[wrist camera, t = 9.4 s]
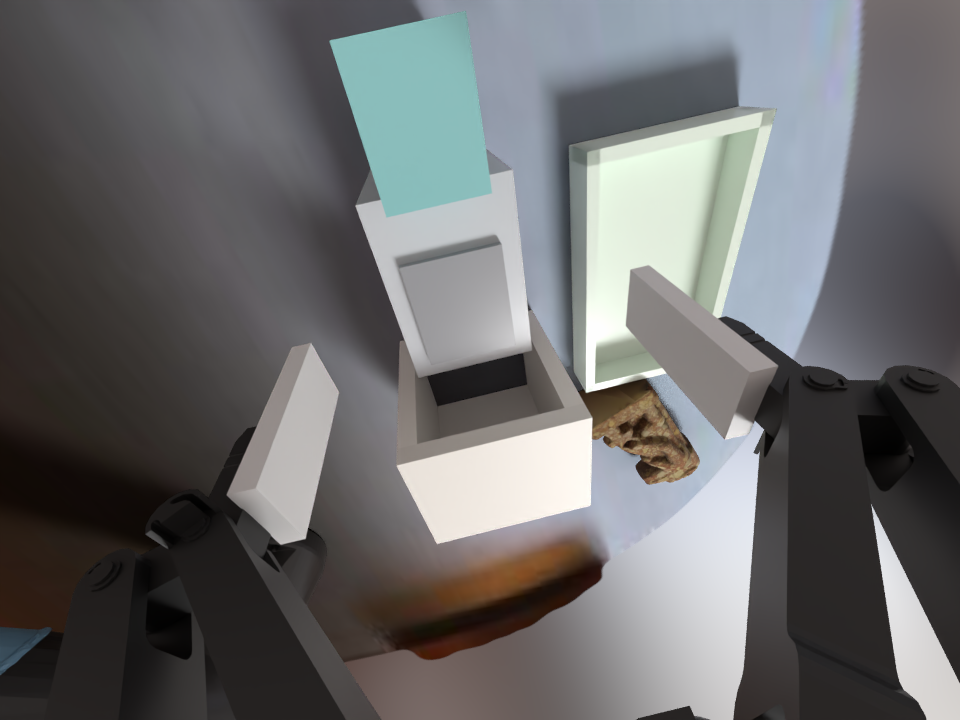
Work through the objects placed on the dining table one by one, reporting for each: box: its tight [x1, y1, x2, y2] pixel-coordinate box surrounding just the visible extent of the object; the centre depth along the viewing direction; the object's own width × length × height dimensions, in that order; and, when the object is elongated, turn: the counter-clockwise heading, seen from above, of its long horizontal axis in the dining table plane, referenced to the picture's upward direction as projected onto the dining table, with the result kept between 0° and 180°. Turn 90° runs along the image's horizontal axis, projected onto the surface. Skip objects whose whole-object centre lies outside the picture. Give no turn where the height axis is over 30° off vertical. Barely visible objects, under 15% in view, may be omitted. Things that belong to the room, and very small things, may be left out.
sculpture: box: [578, 379, 700, 485], centre depth 41 cm, size 8×19×5 cm, turn 38°
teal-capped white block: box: [330, 11, 532, 378], centre depth 20 cm, size 7×15×12 cm, turn 10°
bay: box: [397, 310, 592, 544], centre depth 29 cm, size 11×9×13 cm
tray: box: [569, 106, 776, 393], centre depth 29 cm, size 12×20×3 cm, turn 10°
